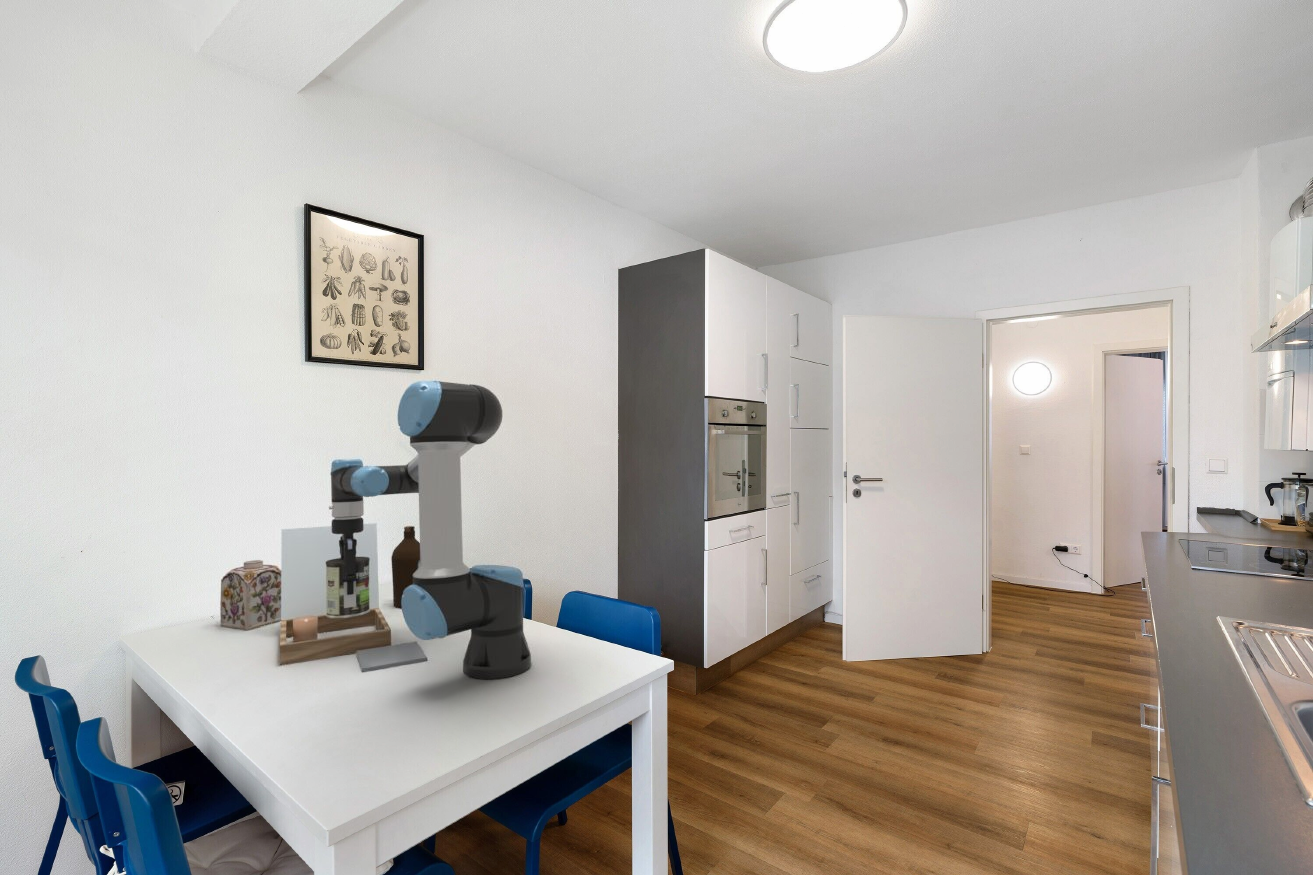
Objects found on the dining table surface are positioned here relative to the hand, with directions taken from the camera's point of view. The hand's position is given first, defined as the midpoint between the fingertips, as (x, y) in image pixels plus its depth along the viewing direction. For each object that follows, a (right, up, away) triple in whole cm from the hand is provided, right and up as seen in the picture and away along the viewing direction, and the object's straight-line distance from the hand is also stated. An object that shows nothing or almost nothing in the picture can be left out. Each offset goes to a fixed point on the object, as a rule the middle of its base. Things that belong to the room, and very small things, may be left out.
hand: (348, 602), depth 161 cm
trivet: (+17, -10, -13) cm, 23 cm away
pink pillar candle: (-11, -10, 0) cm, 15 cm away
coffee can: (0, -3, 0) cm, 3 cm away
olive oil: (+2, -11, +36) cm, 38 cm away
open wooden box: (-3, -10, -1) cm, 10 cm away
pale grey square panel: (-11, +6, +12) cm, 17 cm away
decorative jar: (-36, -11, +16) cm, 41 cm away
